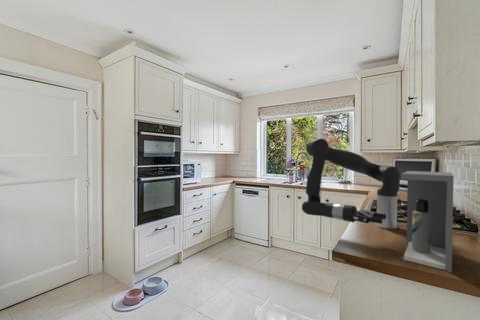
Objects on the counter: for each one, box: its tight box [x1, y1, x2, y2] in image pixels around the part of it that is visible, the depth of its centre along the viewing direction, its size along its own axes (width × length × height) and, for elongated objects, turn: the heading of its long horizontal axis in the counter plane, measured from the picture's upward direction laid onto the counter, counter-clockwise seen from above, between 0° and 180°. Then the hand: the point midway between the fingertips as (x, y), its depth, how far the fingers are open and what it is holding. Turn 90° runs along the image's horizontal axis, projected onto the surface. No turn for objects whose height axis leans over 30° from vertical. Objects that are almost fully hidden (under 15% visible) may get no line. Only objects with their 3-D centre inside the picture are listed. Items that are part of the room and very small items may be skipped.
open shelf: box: [400, 170, 455, 273], centre depth 88 cm, size 22×14×32 cm, turn 138°
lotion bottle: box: [412, 199, 431, 253], centre depth 89 cm, size 6×6×20 cm
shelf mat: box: [403, 242, 446, 271], centre depth 87 cm, size 19×12×2 cm, turn 138°
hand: (384, 218), depth 97 cm, fingers open, 8 cm apart
